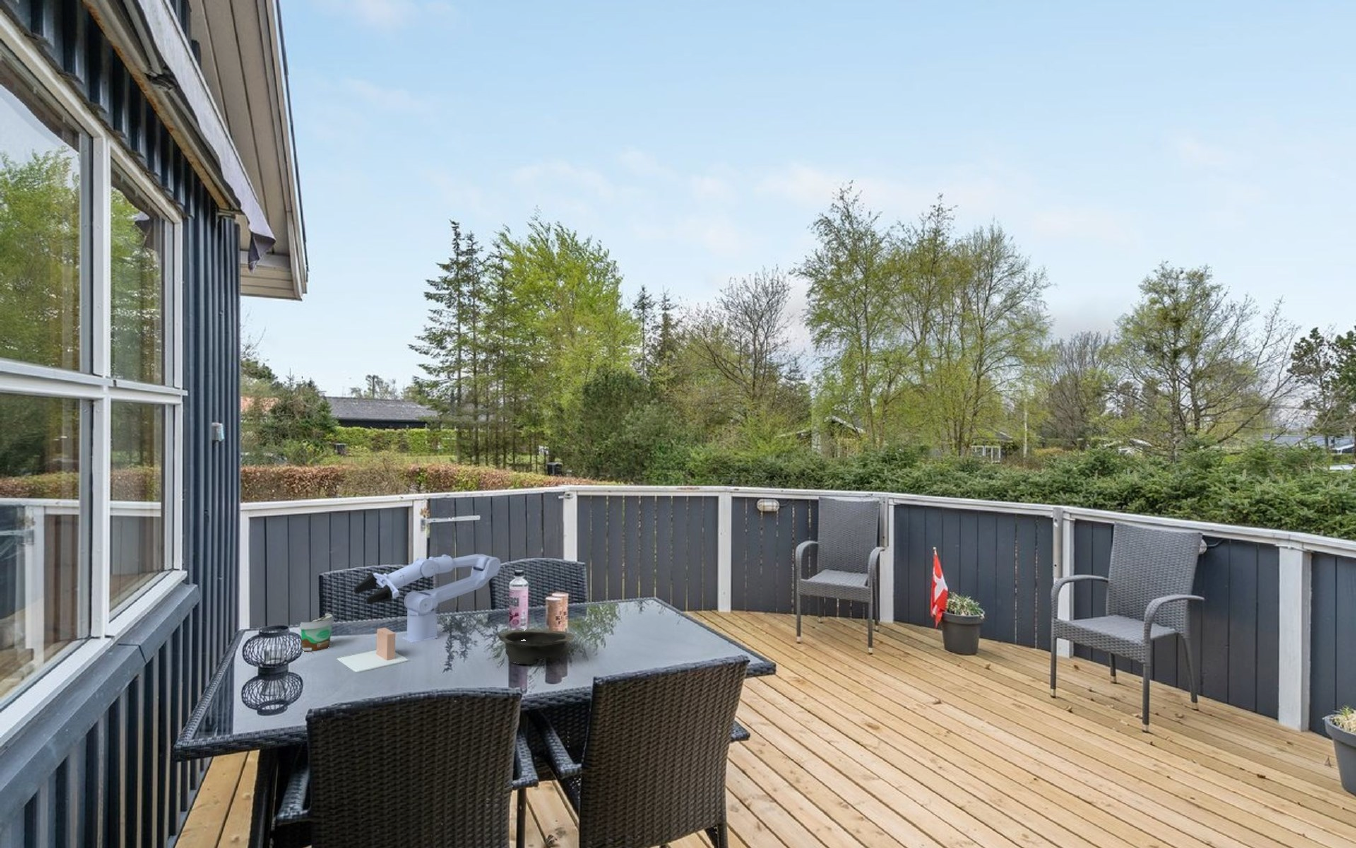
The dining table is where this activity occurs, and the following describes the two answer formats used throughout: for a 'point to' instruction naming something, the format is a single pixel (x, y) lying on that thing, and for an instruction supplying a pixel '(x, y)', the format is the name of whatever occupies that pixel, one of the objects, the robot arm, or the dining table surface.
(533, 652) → the stone bowl
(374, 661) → the mat
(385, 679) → the dining table surface
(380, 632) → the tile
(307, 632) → the food container
